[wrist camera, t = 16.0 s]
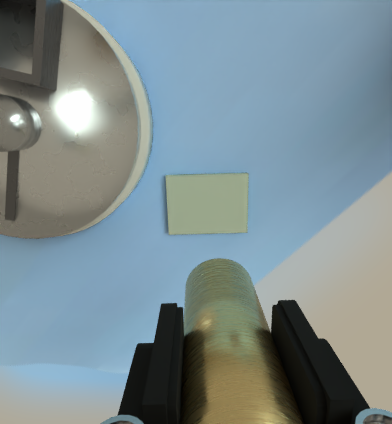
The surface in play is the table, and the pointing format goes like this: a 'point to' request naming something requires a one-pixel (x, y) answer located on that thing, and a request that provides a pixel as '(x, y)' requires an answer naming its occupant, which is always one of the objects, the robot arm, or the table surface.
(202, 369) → the brass rounded cylinder
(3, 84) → the grey round shallow disc
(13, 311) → the table surface
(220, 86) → the table surface
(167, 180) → the mat
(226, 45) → the table surface
